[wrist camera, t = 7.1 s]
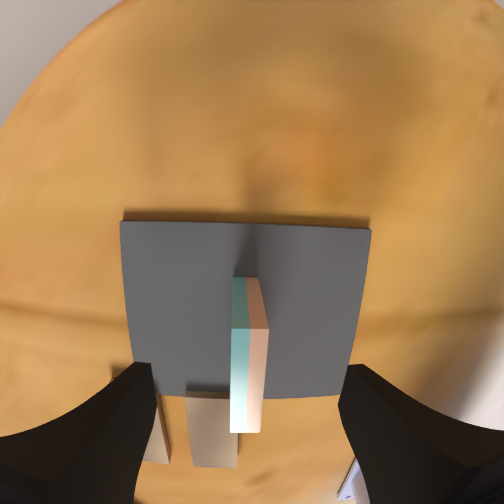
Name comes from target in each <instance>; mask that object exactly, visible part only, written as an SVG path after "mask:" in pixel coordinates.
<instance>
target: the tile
mask: <svg viewBox="0 0 504 504" xmlns="http://www.w3.org/2000/svg"><path fill="white" fill-rule="evenodd" d="M268 336H269V326H268V322H267V317H266V312H265V308H264V303H263V298H262V294H261V289H260V284H259V280H258V278H249V277H232V309H231V354H230V433H260V424H261V414H262V404H263V393H264V382H265V371H266V360H267V348H268Z"/></svg>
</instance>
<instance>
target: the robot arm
mask: <svg viewBox="0 0 504 504" xmlns="http://www.w3.org/2000/svg"><path fill="white" fill-rule="evenodd" d="M338 408H339V412H340V417H341V421H342V424H343V427H344V430H345V433H346V435H347V437H348V440H349V442H350V445H351V447H352V449H353V452H354V454H355V457H356V458H355V461H354V463H353V465H352V467H351V469H350V471H349V473H348V476H347V478H346V480H345V482H344V484H343V486H342V488H341V490H340V492H339V494H338V495H337V499H338V500H346V499H351V498H355V501H356V504H504V431H502V430H494V429H489V428H484V427H479V426H475V425H472V424H468V423H465V422H462V421H459V420H456V419H453V418H451V417H448V416H446V415H444V414H441V413H439V412H437V411H435V410H433V409H431V408H429V407H427V406H425V405H423V404H421V403H420V402H418V401H416V400H415V399H413V398H411V397H410V396H408V395H407V394H405V393H404V392H402V391H401V390H399V389H398V388H396V387H395V386H393V385H392V384H391V383H389V382H388V381H386V380H385V379H384V378H382V377H381V376H380V375H378V374H377V373H375V372H374V371H373V370H371V369H370V368H368V367H367V366H365V365H364V364H354V365H348V366H347V371H346V375H345V379H344V383H343V387H342V391H341V395H340V398H339V402H338ZM156 410H157V399H156V393H155V387H154V380H153V374H152V367H151V363H145V362H136V361H135V362H134V363H133V364H131V365H130V366H129V367H128V368H127V369H126V370H124V371H123V372H122V373H121V374H120V375H119V376H118V377H116V378H115V379H114V380H113V381H112V382H110V383H109V384H108V385H107V386H106V387H104V388H103V389H102V390H101V391H99V392H98V393H96V394H95V395H94V396H92V397H91V398H90V399H88V400H87V401H85V402H84V403H83V404H81V405H80V406H78V407H76V408H75V409H73V410H71V411H70V412H68V413H66V414H64V415H62V416H60V417H58V418H56V419H54V420H52V421H50V422H47V423H45V424H43V425H41V426H38V427H35V428H33V429H30V430H27V431H24V432H20V433H17V434H13V435H9V436H4V437H0V504H133V498H134V492H135V486H136V481H137V477H138V473H139V469H140V466H141V463H142V460H143V457H144V454H145V451H146V448H147V445H148V442H149V439H150V435H151V432H152V429H153V426H154V421H155V415H156Z"/></svg>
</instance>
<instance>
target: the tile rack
mask: <svg viewBox="0 0 504 504" xmlns="http://www.w3.org/2000/svg"><path fill="white" fill-rule="evenodd" d="M113 380H114V379H113V378H112V379H111V381H110V382H112V381H113ZM110 382H109V383H110ZM155 393H156V399H157V410H156V415H155V421H154V426H153V429H152V432H151V435H150V439H149V442H148V445H147V448H146V451H145V454H144V457H143V460H142V461H148V462H155V463H163V464H170V459H171V450H170V446H169V441H168V436H167V431H166V426H165V421H164V415H163V409H162V404H161V398H160V395H159V394H158V391H157V388H155ZM185 405H186V414H187V422H188V430H189V438H190V445H191V452H192V459H193V466H194V467H211V468H237V449H238V433H230V393H228V392H202V391H186V393H185Z"/></svg>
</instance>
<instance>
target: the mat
mask: <svg viewBox="0 0 504 504" xmlns="http://www.w3.org/2000/svg"><path fill="white" fill-rule="evenodd" d="M371 232H372V230H371V229H369V228H353V227H335V226H315V225H294V224H270V223H242V222H207V221H153V220H122V221H120V242H121V258H122V272H123V283H124V294H125V303H126V312H127V320H128V327H129V334H130V341H131V348H132V354H133V360H134V362H135V361H136V362H145V363H151V367H152V374H153V380H154V387H155V388H157V391H158V394H159V395H169V396H182V397H185V393H186V391H202V392H228V393H230V354H231V309H232V277H249V278H258V280H259V284H260V289H261V294H262V298H263V303H264V308H265V312H266V317H267V322H268V326H269V336H268V348H267V360H266V371H265V382H264V393H263V399H282V398H304V397H319V396H331V395H341V391H342V387H343V383H344V379H345V375H346V371H347V366H348V364H349V360H350V355H351V351H352V346H353V342H354V337H355V332H356V327H357V322H358V317H359V312H360V306H361V301H362V295H363V289H364V283H365V277H366V270H367V263H368V256H369V249H370V241H371Z"/></svg>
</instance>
